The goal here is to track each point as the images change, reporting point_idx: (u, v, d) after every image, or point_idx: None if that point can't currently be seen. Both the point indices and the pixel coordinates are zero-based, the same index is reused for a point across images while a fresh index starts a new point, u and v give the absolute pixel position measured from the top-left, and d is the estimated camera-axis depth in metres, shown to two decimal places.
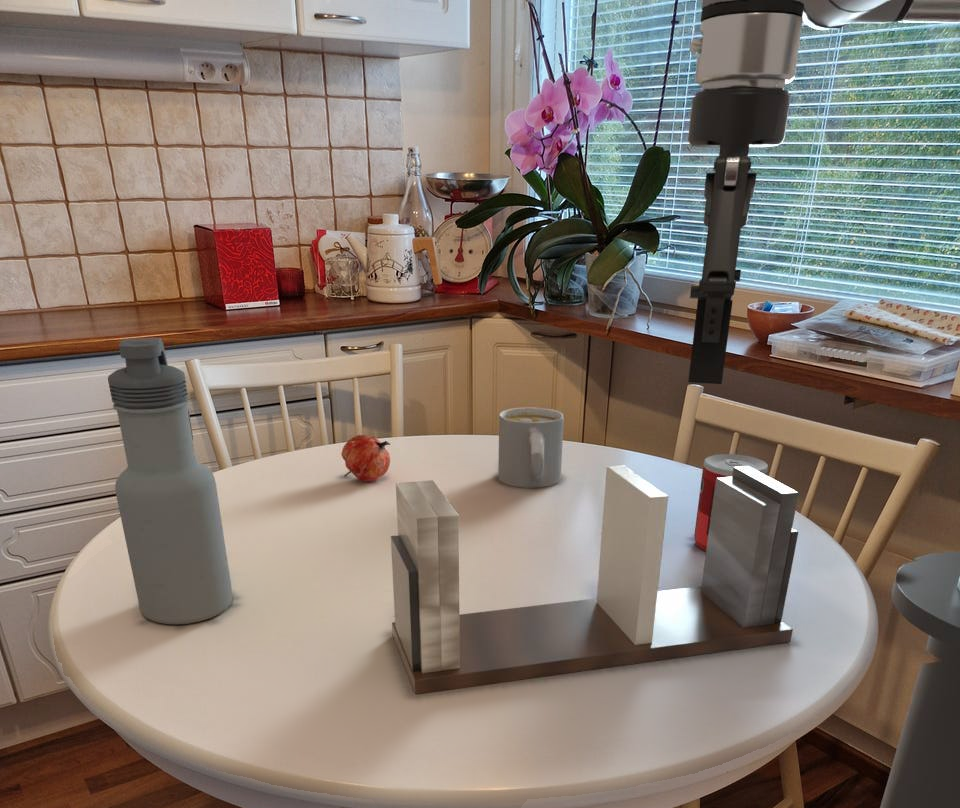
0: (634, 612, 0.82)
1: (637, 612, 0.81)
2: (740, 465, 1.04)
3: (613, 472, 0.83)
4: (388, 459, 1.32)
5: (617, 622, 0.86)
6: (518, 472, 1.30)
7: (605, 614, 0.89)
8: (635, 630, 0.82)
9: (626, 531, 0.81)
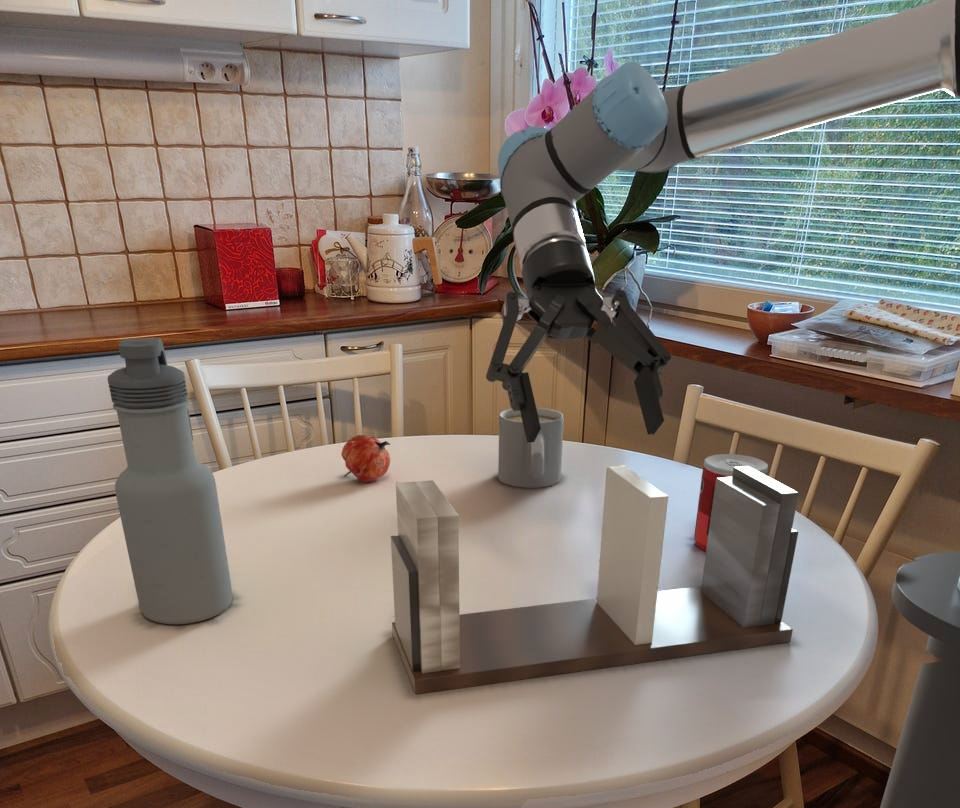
0: (634, 612, 0.82)
1: (637, 612, 0.81)
2: (740, 465, 1.04)
3: (613, 472, 0.83)
4: (388, 459, 1.32)
5: (617, 622, 0.86)
6: (518, 472, 1.30)
7: (605, 614, 0.89)
8: (635, 630, 0.82)
9: (626, 531, 0.81)
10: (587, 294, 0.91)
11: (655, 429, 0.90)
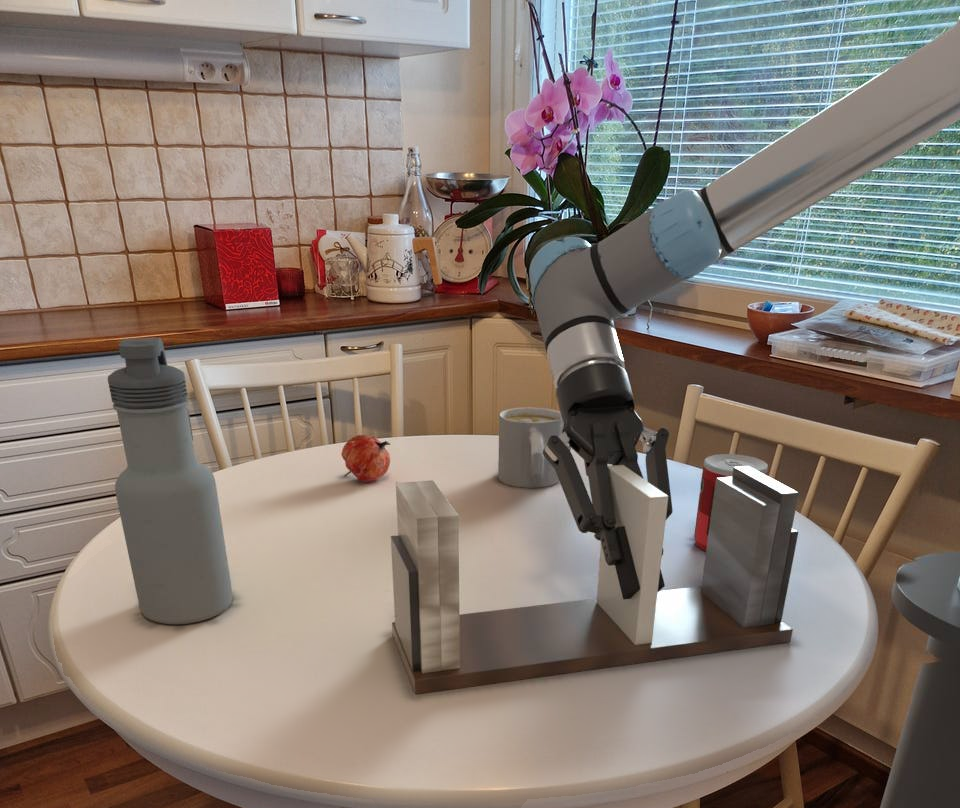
0: (634, 612, 0.82)
1: (637, 612, 0.81)
2: (740, 465, 1.04)
3: (613, 472, 0.83)
4: (388, 459, 1.32)
5: (617, 622, 0.86)
6: (518, 472, 1.30)
7: (605, 614, 0.89)
8: (635, 630, 0.82)
9: (626, 531, 0.81)
10: (626, 418, 0.86)
11: None
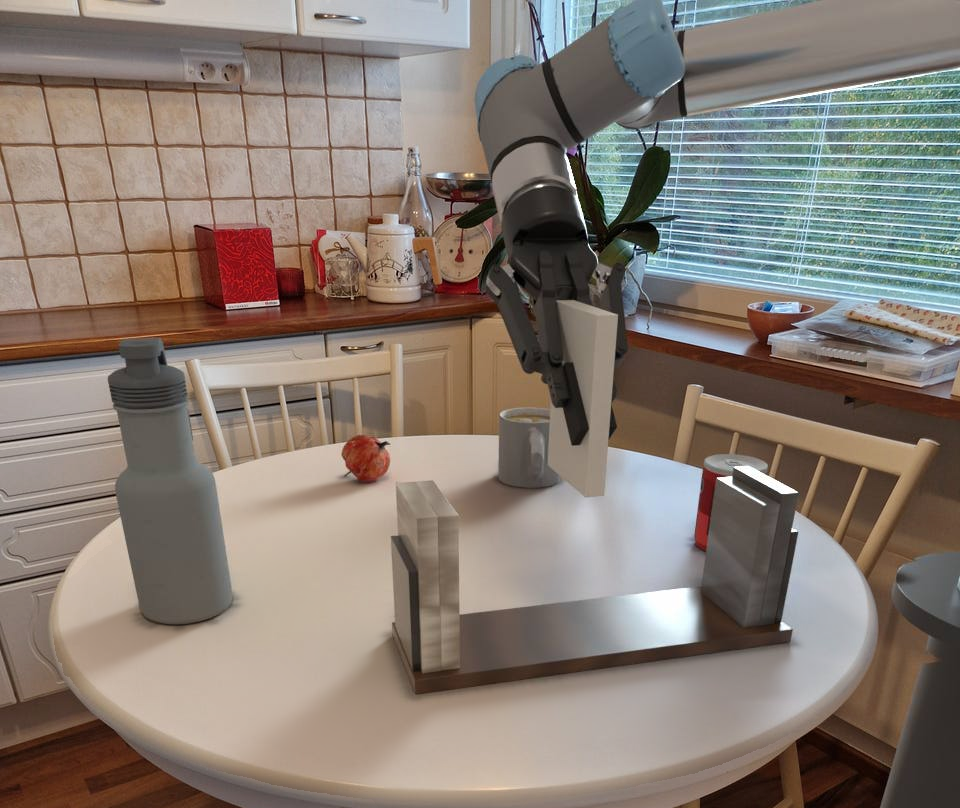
0: (584, 459, 0.73)
1: (586, 458, 0.72)
2: (740, 465, 1.04)
3: (561, 304, 0.74)
4: (388, 459, 1.32)
5: (567, 479, 0.77)
6: (518, 472, 1.30)
7: (605, 614, 0.89)
8: (585, 480, 0.73)
9: (575, 367, 0.73)
10: (578, 251, 0.77)
11: None
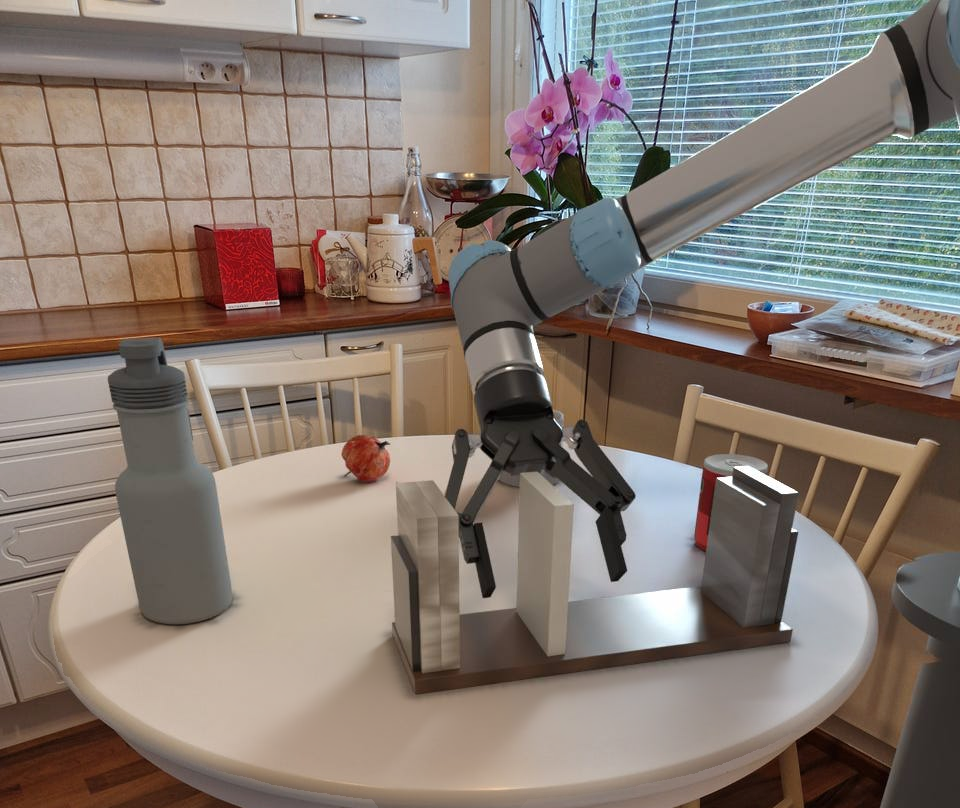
0: (546, 623, 0.80)
1: (548, 623, 0.79)
2: (740, 465, 1.04)
3: (525, 479, 0.81)
4: (388, 459, 1.32)
5: (533, 632, 0.84)
6: None
7: (605, 614, 0.89)
8: (547, 642, 0.80)
9: (537, 540, 0.79)
10: (544, 426, 0.84)
11: (618, 577, 0.82)
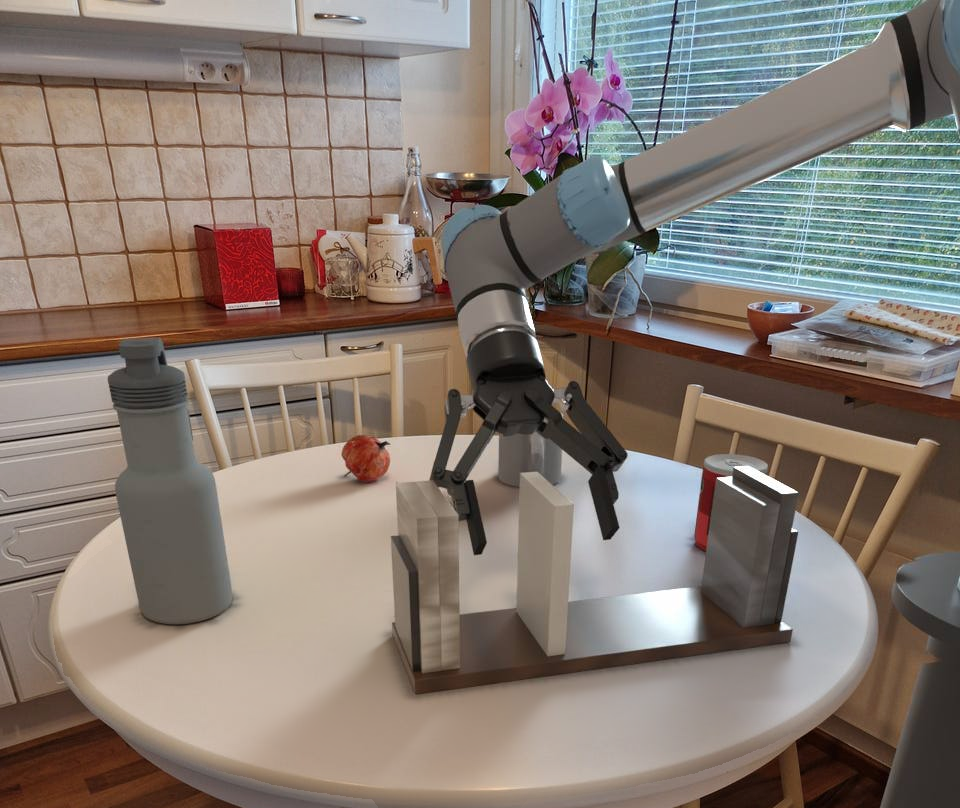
0: (546, 623, 0.80)
1: (548, 623, 0.79)
2: (740, 465, 1.04)
3: (525, 479, 0.81)
4: (388, 459, 1.32)
5: (533, 632, 0.84)
6: (518, 472, 1.30)
7: (605, 614, 0.89)
8: (547, 642, 0.80)
9: (537, 540, 0.79)
10: (536, 387, 0.84)
11: (610, 535, 0.82)
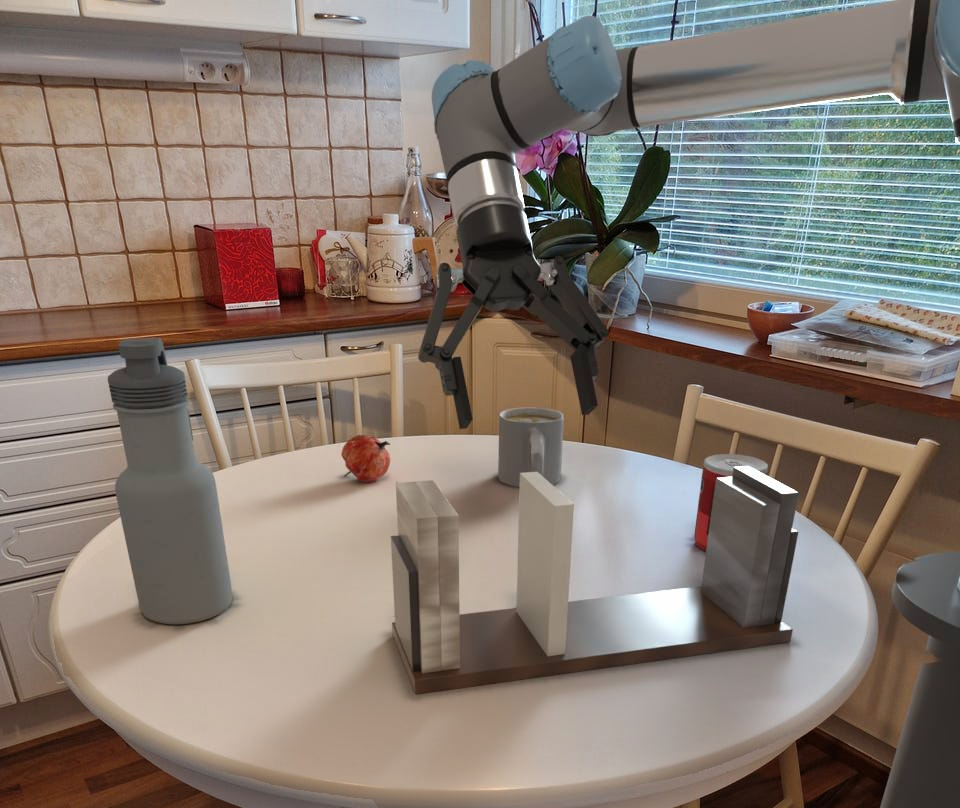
0: (546, 623, 0.80)
1: (548, 623, 0.79)
2: (740, 465, 1.04)
3: (525, 479, 0.81)
4: (388, 459, 1.32)
5: (533, 632, 0.84)
6: (518, 472, 1.30)
7: (605, 614, 0.89)
8: (547, 642, 0.80)
9: (537, 540, 0.79)
10: (523, 263, 0.88)
11: (589, 411, 0.89)
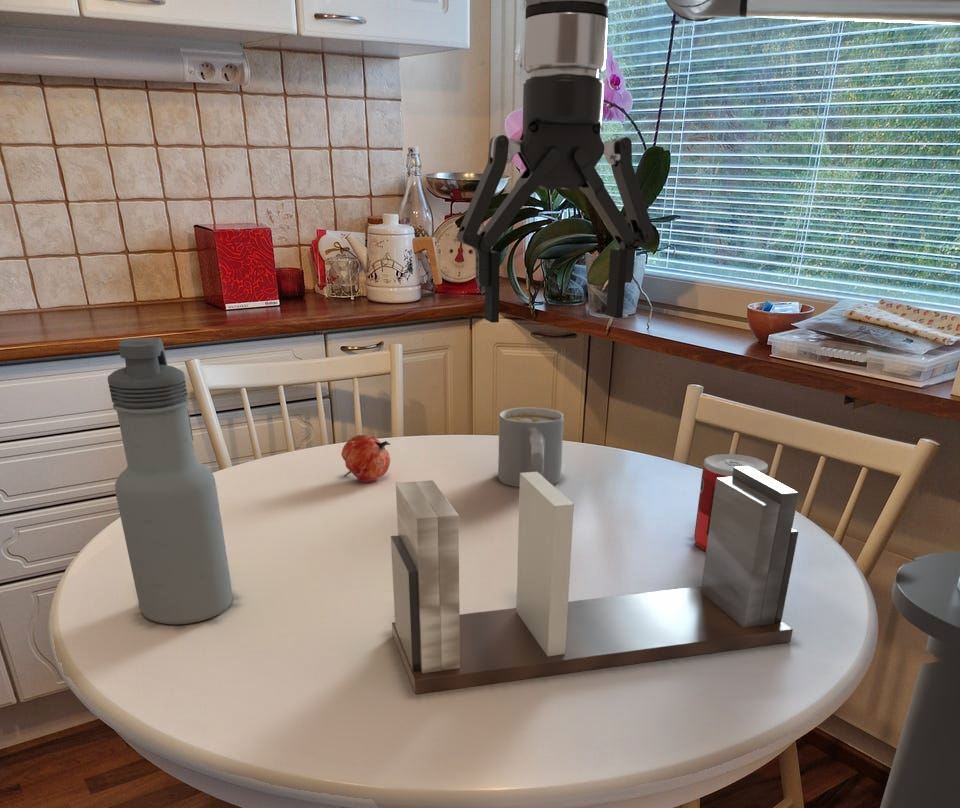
0: (546, 623, 0.80)
1: (548, 623, 0.79)
2: (740, 465, 1.04)
3: (525, 479, 0.81)
4: (388, 459, 1.32)
5: (533, 632, 0.84)
6: (518, 472, 1.30)
7: (605, 614, 0.89)
8: (547, 642, 0.80)
9: (537, 540, 0.79)
10: (587, 143, 0.81)
11: None
